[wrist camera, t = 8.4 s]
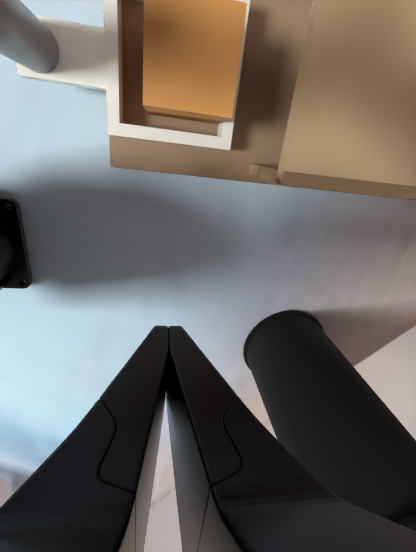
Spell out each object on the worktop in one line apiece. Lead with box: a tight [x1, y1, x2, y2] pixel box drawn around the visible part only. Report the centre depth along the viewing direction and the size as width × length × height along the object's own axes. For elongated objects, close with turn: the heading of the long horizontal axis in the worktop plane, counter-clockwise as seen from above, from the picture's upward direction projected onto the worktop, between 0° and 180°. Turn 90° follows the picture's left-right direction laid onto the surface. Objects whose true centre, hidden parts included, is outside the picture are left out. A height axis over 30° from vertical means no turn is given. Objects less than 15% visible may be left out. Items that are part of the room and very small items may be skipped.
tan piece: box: [110, 0, 416, 200], centre depth 15 cm, size 10×25×8 cm, turn 83°
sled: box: [0, 0, 250, 150], centre depth 10 cm, size 7×11×10 cm, turn 83°
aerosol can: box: [243, 311, 416, 532], centre depth 18 cm, size 8×8×20 cm
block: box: [143, 0, 247, 124], centre depth 13 cm, size 4×4×4 cm
